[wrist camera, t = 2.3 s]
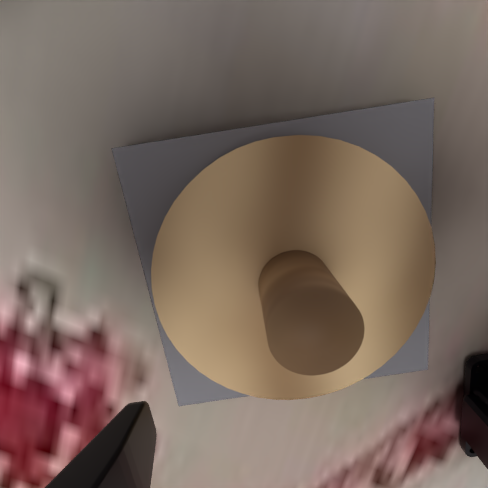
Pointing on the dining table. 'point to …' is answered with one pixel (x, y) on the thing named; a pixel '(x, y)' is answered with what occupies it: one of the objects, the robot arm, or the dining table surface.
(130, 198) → the mat
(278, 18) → the dining table surface
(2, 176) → the dining table surface
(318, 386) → the lid
